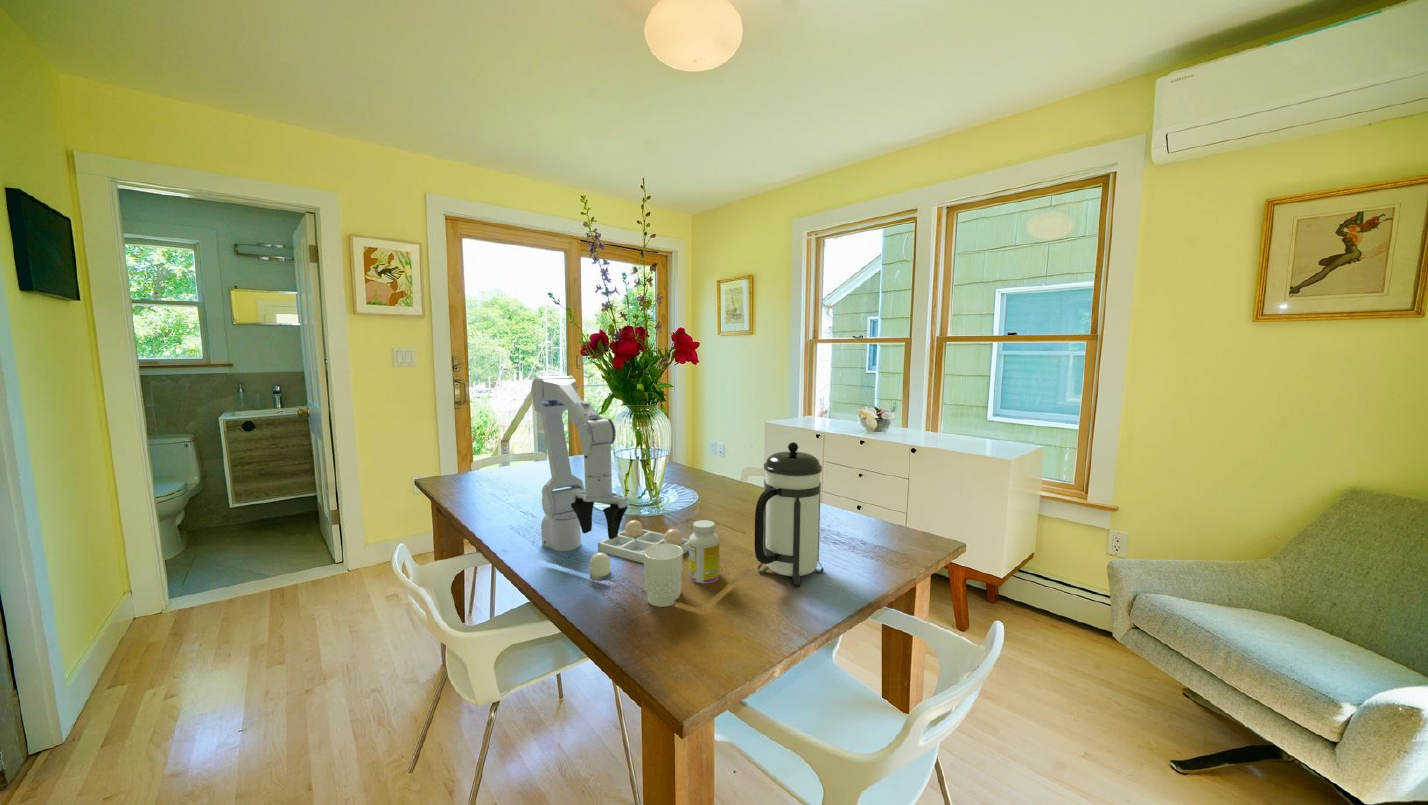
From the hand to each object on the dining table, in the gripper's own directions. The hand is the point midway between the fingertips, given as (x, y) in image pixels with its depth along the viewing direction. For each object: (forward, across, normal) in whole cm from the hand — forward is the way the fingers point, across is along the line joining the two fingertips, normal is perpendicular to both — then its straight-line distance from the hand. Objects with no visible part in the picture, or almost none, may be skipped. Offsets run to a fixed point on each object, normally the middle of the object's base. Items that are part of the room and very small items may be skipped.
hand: (599, 534), depth 107 cm
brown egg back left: (+8, -5, +18) cm, 21 cm away
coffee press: (+10, +36, +21) cm, 43 cm away
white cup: (+10, +18, -1) cm, 20 cm away
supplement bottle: (+10, +21, +10) cm, 25 cm away
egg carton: (+9, +1, +15) cm, 18 cm away
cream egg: (+10, 0, 0) cm, 10 cm away
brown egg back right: (+8, +7, +18) cm, 21 cm away
